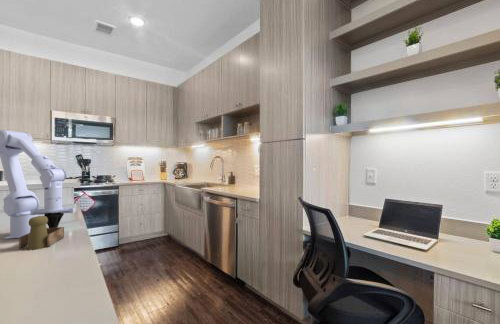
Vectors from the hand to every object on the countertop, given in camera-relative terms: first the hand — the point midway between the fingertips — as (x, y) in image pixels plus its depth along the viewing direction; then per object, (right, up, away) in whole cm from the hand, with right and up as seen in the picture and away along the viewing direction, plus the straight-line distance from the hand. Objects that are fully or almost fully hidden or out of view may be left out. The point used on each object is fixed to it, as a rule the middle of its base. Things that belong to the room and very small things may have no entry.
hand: (53, 231), depth 95 cm
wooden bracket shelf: (+2, -2, -7) cm, 7 cm away
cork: (+3, -3, -10) cm, 11 cm away
